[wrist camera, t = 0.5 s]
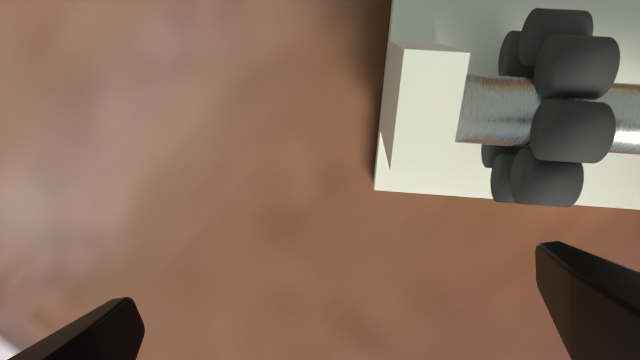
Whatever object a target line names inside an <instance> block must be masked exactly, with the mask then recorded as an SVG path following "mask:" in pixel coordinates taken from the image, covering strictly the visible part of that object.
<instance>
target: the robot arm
mask: <svg viewBox="0 0 640 360" xmlns="http://www.w3.org/2000/svg"><path fill="white" fill-rule="evenodd" d="M535 257H536V281H537V285H538V289H539V291H540V293H541V295H542V298H543V300H544V302H545V304H546V306H547V308H548V311H549V313H550V315H551V317H552V319H553V321H554V324H555V326H556V328H557V330H558V332H559V334H560V337H561V339H562V341H563V343H564V345H565V347H566V349H567V351H568V353H569V355H570V357H571V359H572V360H640V272H638V271H635V270H632V269H630V268H627V267H625V266H622V265H619V264H617V263H614V262H612V261H609V260H606V259H604V258H601V257H599V256H596V255H593V254H591V253H588V252H586V251H583V250H580V249H578V248H575V247H573V246H570V245H567V244H565V243H562V242H559V241H553V242H546V243H540V244H538V245H537V246H536V250H535ZM144 332H145V328H144V323H143V321H142V319H141V316H140V314H139V312H138V309H137V307H136V305H135V302H134V301H133V300H132V299H131V298H129V297H123V298H115V299H112V300H110V301H108V302H106V303H105V304H103V305H101V306H99V307H98V308H96V309H94V310H92V311H91V312H89V313H87V314H86V315H84V316H82V317H80V318H79V319H77V320H75V321H73V322H72V323H70V324H68V325H67V326H65V327H63V328H61V329H60V330H58V331H56V332H54V333H53V334H51V335H49V336H48V337H46V338H44V339H42V340H41V341H39V342H37V343H35V344H34V345H32V346H30V347H29V348H27V349H25V350H23V351H22V352H20V353H18V354H16V355H15V356H13V357H11V358H10V359H8V360H136V357H137V355H138V352H139V349H140V346H141V343H142V340H143V337H144Z"/></svg>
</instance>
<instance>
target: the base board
mask: <svg viewBox="0 0 640 360" xmlns="http://www.w3.org/2000/svg"><path fill="white" fill-rule="evenodd" d="M535 8H546V9H566V10H585V11H588V12H589V13H590V14H591V16H592V19H593V36H602V37H612V38H613V39H615V40H616V42H617V44H618V46H619V50H620V64H619V69H618V73H617V76H616V78H615V81H614V83H628V84H640V0H392V6H391V15H390V25H389V35H388V44H387V54H386V64H385V73H384V83H383V93H382V102H381V112H380V122H379V131H378V141H377V151H376V160H375V170H374V180H373V185H374V190H381V191H395V192H408V193H422V194H435V195H449V196H463V197H476V198H490V199H493V197H492V193H491V187H490V178H491V171H492V168H486V167H484V165H483V163H482V158H481V146H482V144H471V143H457V142H455V138H456V132H457V127H458V121H459V115H460V109H461V104H462V98H463V92H464V86H465V81H466V75H467V74H475V75H492V76H499V72H498V60H499V54H500V49H501V46H502V43H503V41H504V38H505V37H506V35H507V34H508V32H510V31H512V30H513V31H522V28H523V25H524V22H525V20H526V18H527V16H528V15H529V13H530V12H531V11H532V10H533V9H535ZM582 165H583V170H584V183H583V188H582V191H581V194H580V196H579V198H578V200H577V201H576V203H575V204H574V205H584V206H598V207H611V208H625V209H638V210H640V155H635V154H620V153H608V154H607V155H606V156H605V157H604V158H603V159H602V160H601V161H599V162H597V163H594V164H591V163H582Z"/></svg>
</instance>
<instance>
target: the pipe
mask: <svg viewBox="0 0 640 360" xmlns="http://www.w3.org/2000/svg"><path fill="white" fill-rule="evenodd" d="M546 99H557V100H573V101H589V102H603V103H606V104H608V105H609V106H610V107H611V109H612V110H613V112H614V116H615V120H616V131H615V137H614V141H613V144H612V146H611V149H610V150H609V152H608V153H620V154H635V155H640V84H628V83H613V85H612V86H611V88H610V89H609V91H608V92H607V93H606V94H605V95H604V96H603V97H601V98H599V99H596V100H589V99H573V98H557V97H542V96H539V95H538V94H537V92H536V90H535V86H534V78H526V77H509V76H492V75H475V74H467V75H466V81H465V86H464V92H463V98H462V104H461V109H460V115H459V121H458V127H457V132H456V138H455V142H457V143H471V144H486V145H501V146H516V147H531V146H530V129H531V124H532V120H533V117H534V114H535V112H536V110H537V108H538V106H539V105H540V104H541V103H542V102H543V101H544V100H546Z"/></svg>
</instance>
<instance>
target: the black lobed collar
mask: <svg viewBox="0 0 640 360" xmlns="http://www.w3.org/2000/svg"><path fill="white" fill-rule="evenodd" d="M619 64H620V50H619V46H618V44H617V42H616V40H615V39H613V38H612V37H602V36H593V19H592V16H591V14H590V13H589V12H588V11H585V10H566V9H546V8H535V9H533V10H532V11H531V12H530V13H529V15H528V16H527V18H526V20H525V22H524V25H523V28H522V31H513V30H512V31H510V32H508V34H507V35H506V37H505V38H504V41H503V43H502V46H501V49H500V54H499V60H498V72H499V76H509V77H526V78H534V86H535V90H536V92H537V94H538V95H539V96H542V97H557V98H573V99H589V100H596V99H599V98H601V97H603V96H604V95H605V94H606V93H607V92H608V91H609V89H610V88H611V86H612V85H613V83H614V81H615V78H616V76H617V73H618V69H619ZM615 131H616V120H615V116H614V112H613V110H612V109H611V107H610V106H609V105H608V104H606V103H603V102H589V101H573V100H557V99H546V100H544V101H543V102H542V103H541V104H540V105H539V106H538V108H537V110H536V112H535V114H534V117H533V120H532V124H531V129H530V146H531V147H516V146H501V145H486V144H482V146H481V158H482V163H483V165H484V167H486V168H492V171H491V178H490V187H491V193H492V197H493V199H494V200H495V201H496V202H505V203H518V204H529V205H542V206H556V207H570V206H572V205H574V204H575V203H576V201H577V200H578V198H579V196H580V194H581V191H582V188H583V183H584V170H583V165H582V163H591V164H594V163H597V162H599V161H601V160H602V159H603V158H604V157H605V156H606V155H607V154H608V152H609V150H610V149H611V146H612V144H613V141H614V137H615Z"/></svg>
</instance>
